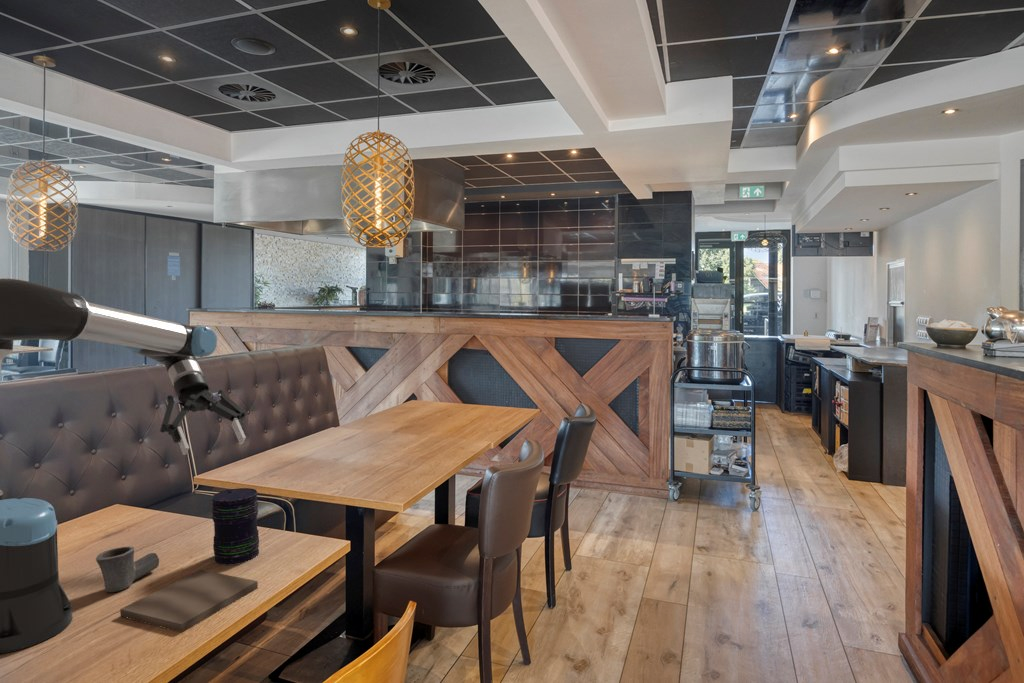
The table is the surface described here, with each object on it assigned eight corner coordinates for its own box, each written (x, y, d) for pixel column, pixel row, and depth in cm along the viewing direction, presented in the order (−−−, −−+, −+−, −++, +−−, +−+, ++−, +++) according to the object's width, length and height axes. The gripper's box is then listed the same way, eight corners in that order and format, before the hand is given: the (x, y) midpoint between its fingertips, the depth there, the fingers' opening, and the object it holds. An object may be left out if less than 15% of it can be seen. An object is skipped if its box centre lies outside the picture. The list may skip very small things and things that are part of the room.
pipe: (164, 572, 131) (163, 537, 130) (111, 599, 119) (109, 560, 118) (143, 569, 133) (141, 534, 132) (88, 595, 120) (86, 557, 120)
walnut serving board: (182, 632, 106) (181, 624, 106) (120, 616, 112) (120, 609, 112) (257, 588, 123) (257, 581, 123) (200, 576, 128) (200, 569, 128)
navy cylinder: (267, 555, 139) (265, 493, 139) (224, 569, 132) (222, 504, 131) (248, 544, 146) (246, 485, 145) (206, 557, 139) (204, 494, 138)
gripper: (232, 385, 165) (260, 445, 157) (131, 396, 147) (156, 465, 138) (240, 367, 162) (269, 428, 153) (137, 376, 143) (163, 446, 134)
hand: (215, 446), depth 145 cm, fingers open, 13 cm apart
